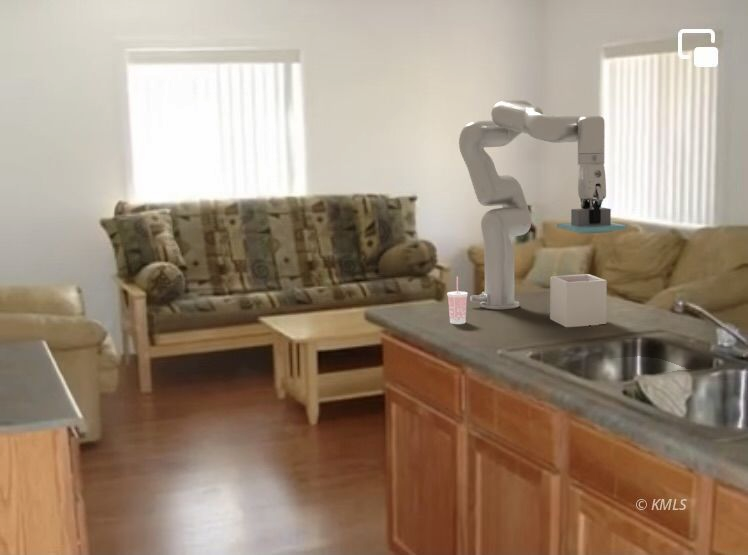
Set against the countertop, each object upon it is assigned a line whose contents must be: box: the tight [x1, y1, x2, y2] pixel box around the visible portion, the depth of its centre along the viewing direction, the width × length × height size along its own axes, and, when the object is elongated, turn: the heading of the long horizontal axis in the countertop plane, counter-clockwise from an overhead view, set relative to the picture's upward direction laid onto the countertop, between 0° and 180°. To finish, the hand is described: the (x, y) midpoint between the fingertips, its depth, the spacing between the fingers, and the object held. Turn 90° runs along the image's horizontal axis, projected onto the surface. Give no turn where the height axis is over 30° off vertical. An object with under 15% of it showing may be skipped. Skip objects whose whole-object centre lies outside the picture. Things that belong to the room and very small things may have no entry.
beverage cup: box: [446, 275, 468, 325], centre depth 299 cm, size 6×6×14 cm
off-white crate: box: [549, 273, 608, 328], centre depth 296 cm, size 12×12×13 cm
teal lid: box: [556, 207, 627, 235], centre depth 291 cm, size 15×15×6 cm
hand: (590, 221), depth 291 cm, fingers closed on teal lid, 5 cm apart
